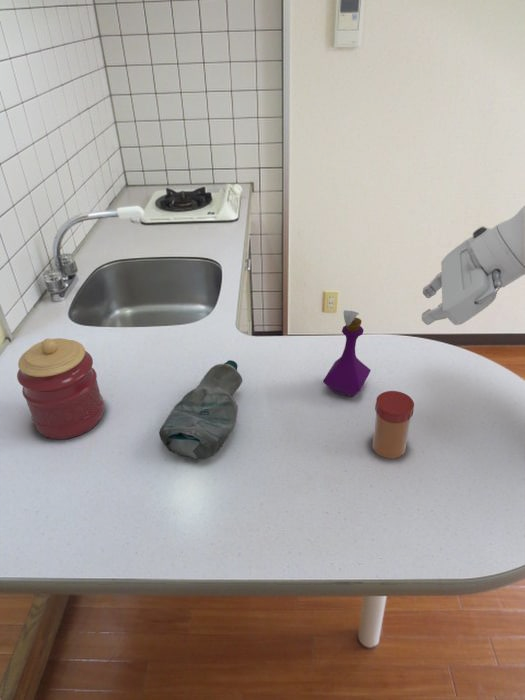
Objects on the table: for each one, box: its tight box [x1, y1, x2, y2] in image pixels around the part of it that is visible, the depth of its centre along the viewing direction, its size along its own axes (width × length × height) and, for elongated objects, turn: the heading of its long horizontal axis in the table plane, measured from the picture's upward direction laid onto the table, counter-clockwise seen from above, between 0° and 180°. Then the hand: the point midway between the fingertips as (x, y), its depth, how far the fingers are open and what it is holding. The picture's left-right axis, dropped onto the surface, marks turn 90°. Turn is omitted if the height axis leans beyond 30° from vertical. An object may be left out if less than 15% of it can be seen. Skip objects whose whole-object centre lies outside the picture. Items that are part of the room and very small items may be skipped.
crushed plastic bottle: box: [158, 359, 243, 460], centre depth 97 cm, size 13×7×25 cm
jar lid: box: [374, 390, 415, 423], centre depth 86 cm, size 6×6×2 cm
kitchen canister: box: [16, 337, 105, 440], centre depth 96 cm, size 13×13×18 cm
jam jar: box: [371, 412, 412, 460], centre depth 89 cm, size 6×6×10 cm
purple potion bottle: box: [322, 309, 372, 398], centre depth 100 cm, size 8×8×18 cm
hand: (424, 306), depth 91 cm, fingers open, 8 cm apart
